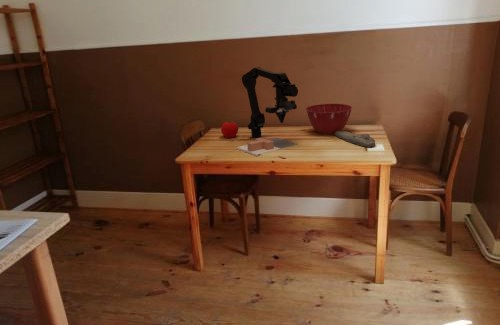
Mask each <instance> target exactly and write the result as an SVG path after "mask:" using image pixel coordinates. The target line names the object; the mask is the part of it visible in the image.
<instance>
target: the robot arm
mask: <svg viewBox="0 0 500 325" xmlns="http://www.w3.org/2000/svg"><path fill="white" fill-rule="evenodd" d="M259 77H262V78H265V79H268V80H271V82H272V83H274V84H273V85H272V88H273V89H275V97H274V100H275V104H274V106H267V107H265V113H269V114H275V115H276V116H277V118H278V121H279V122H280V124H283V123H284V120H285V118H286V115H287V113H289V112H290V111H292V110H297V109H298V106H297V104H296V101H295V100H294V99H293V100H289V98H288V97H290V98H291V97H292V98H296V97H297V96H298V95H299V89H298V87H297V86H296V83H291V81H290V79H289V77H288V74H287V73H286V72H282V71H281V72H280V71H276V72H275V71H272V70H268V69H265V68H261V67H260V66H259V67H258V66H257V67H253V68H252V69H250V70H249V71H247V72H246V73H245V74H243V75H242V76H241V81H242V82H241V83H242V84H243V85H242V86H243V87H244V88H245V89H246V91H247V92H246V93H247V96H248V101H249V106H250V107H249V108H250V111H251V115H250V118H249V119H250V122H249V124H248V125H247V129H248V130H251V131H250V133H251V135H250V136H249V139H252V140H253V139H257V138H262V128H264V126H265V124H266V118H265V113H262V112H261V111H260V106H259V102H258V96H257V90H256V85H257V80H258V79H259Z"/></svg>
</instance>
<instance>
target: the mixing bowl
mask: <svg viewBox="0 0 500 325" xmlns="http://www.w3.org/2000/svg"><path fill="white" fill-rule="evenodd" d="M352 109H353V106H352V105H349V104H345V103H321V104H313V105H310V106H309V105H308V106H307V107H305V110H306V114H307V117H308V120H309V122H310V124H311V127H312V128H313V129H314V130H315V131H316V132H317V133H319V134H323V135H333V134H335V132H336V131H339V130H343V129H344V128H345V127H346V125H347V123H348V120H349V118H350V117H351V112H352Z"/></svg>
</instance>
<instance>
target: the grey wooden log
mask: <svg viewBox="0 0 500 325" xmlns="http://www.w3.org/2000/svg"><path fill="white" fill-rule="evenodd" d="M334 136H335V137H337V138H339V139H341V140H343V141H345V142H349V143H351V144H354V145H357V146H360V147H365V148H372V147H374V146H376V140H375V138H373V137H371V136H370V134H368V133H364V134H363V133H361V134H356V133H352V132H349V131H346V130H343V129H342V130H339V131H336V132H335V133H334ZM371 146H372V147H371Z"/></svg>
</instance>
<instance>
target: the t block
mask: <svg viewBox="0 0 500 325" xmlns="http://www.w3.org/2000/svg"><path fill="white" fill-rule="evenodd" d="M246 145H247V146H248V150H249V151H256V150H260V149H267V150H270V149H274V141H271V140H270V139H266V138H264V137H261V138H254V141H251V142H247V144H246Z"/></svg>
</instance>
